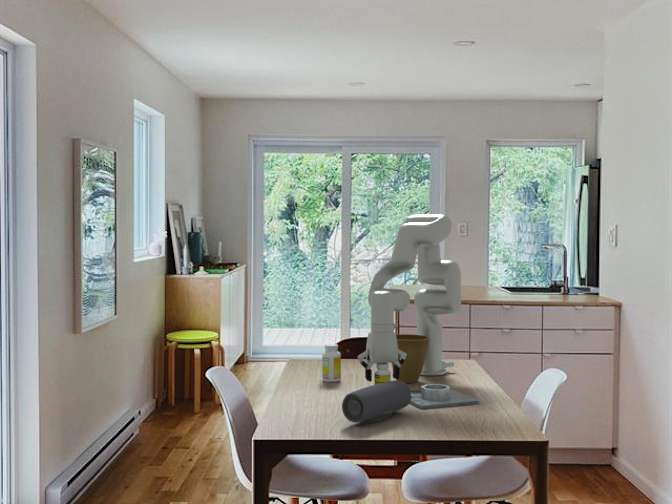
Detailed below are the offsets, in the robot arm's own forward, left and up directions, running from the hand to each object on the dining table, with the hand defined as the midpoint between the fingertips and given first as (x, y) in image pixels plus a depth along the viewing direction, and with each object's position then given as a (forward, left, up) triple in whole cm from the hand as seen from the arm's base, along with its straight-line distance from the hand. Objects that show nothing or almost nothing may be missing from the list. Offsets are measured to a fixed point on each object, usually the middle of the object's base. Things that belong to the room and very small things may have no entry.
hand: (382, 379), depth 260 cm
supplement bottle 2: (0, 0, -5) cm, 5 cm away
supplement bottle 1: (+9, -25, -5) cm, 27 cm away
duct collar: (-12, +15, -4) cm, 20 cm away
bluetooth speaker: (+15, +31, -5) cm, 35 cm away
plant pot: (-16, -14, -5) cm, 22 cm away
